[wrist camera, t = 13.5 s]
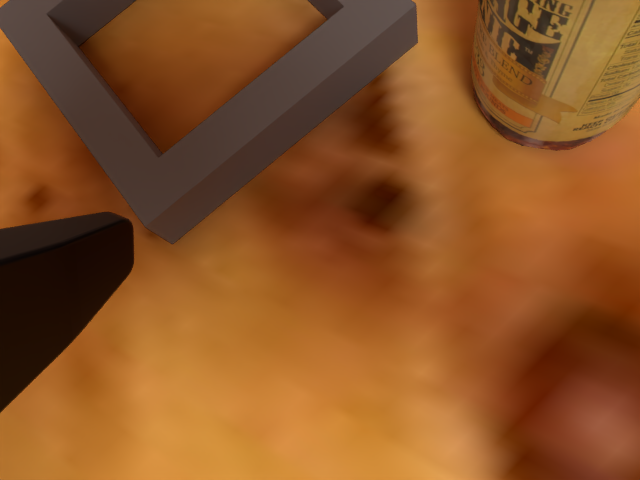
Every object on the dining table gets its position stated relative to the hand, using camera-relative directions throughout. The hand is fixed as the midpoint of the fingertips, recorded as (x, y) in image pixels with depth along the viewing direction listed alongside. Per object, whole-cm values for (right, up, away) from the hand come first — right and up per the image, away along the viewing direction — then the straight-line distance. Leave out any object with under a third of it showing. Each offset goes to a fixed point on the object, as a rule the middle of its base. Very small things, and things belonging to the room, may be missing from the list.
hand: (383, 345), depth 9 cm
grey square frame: (-6, +11, +19) cm, 22 cm away
